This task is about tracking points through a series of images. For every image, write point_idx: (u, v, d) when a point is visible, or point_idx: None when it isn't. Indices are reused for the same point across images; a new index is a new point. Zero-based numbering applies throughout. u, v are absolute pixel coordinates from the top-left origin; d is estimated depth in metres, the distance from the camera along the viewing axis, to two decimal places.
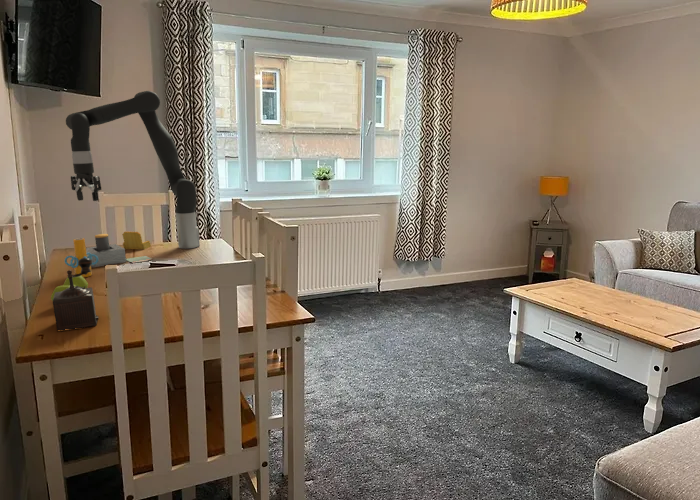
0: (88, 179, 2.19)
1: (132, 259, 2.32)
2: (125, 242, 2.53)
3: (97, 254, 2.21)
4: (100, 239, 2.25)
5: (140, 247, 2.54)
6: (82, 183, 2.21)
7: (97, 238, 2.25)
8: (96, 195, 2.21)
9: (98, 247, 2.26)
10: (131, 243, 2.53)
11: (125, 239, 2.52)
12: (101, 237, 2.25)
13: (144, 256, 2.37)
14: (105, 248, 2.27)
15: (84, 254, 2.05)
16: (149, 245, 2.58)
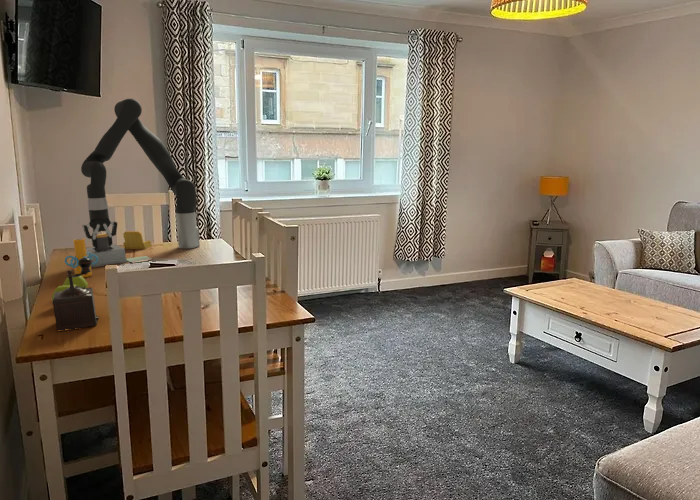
0: (108, 224, 2.27)
1: (132, 259, 2.32)
2: (126, 242, 2.54)
3: (97, 254, 2.21)
4: (100, 239, 2.25)
5: (141, 247, 2.54)
6: (100, 228, 2.25)
7: (97, 238, 2.25)
8: None
9: (98, 247, 2.26)
10: (132, 243, 2.54)
11: (126, 239, 2.53)
12: (101, 237, 2.25)
13: (144, 256, 2.37)
14: (105, 248, 2.27)
15: (84, 254, 2.05)
16: (149, 245, 2.59)
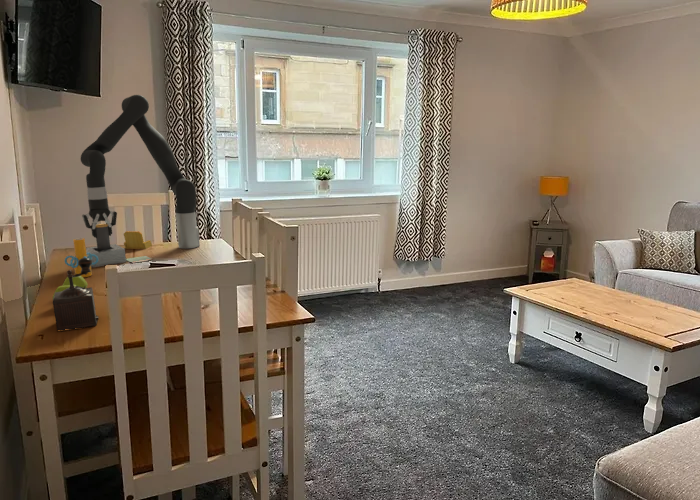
0: (108, 214, 2.26)
1: (132, 259, 2.32)
2: (126, 242, 2.54)
3: (97, 254, 2.21)
4: (100, 229, 2.24)
5: (141, 247, 2.55)
6: (100, 217, 2.25)
7: (97, 228, 2.24)
8: None
9: (98, 237, 2.25)
10: (132, 243, 2.54)
11: (126, 239, 2.53)
12: (101, 227, 2.24)
13: (144, 256, 2.37)
14: (105, 238, 2.26)
15: (84, 254, 2.05)
16: (150, 245, 2.59)
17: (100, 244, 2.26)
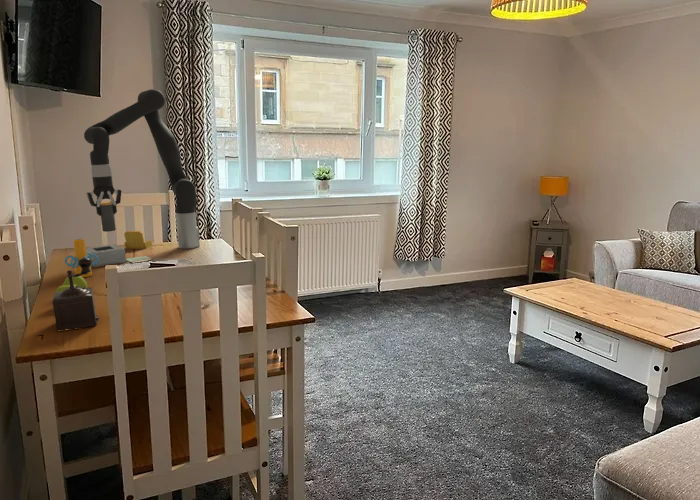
0: (112, 192, 2.25)
1: (132, 259, 2.32)
2: (127, 241, 2.54)
3: (97, 254, 2.21)
4: (104, 207, 2.23)
5: (142, 246, 2.55)
6: (104, 195, 2.23)
7: (101, 206, 2.23)
8: None
9: (102, 215, 2.24)
10: (133, 243, 2.54)
11: (127, 238, 2.54)
12: (105, 205, 2.23)
13: (144, 256, 2.37)
14: (110, 216, 2.24)
15: (84, 254, 2.05)
16: (150, 245, 2.60)
17: (105, 223, 2.24)
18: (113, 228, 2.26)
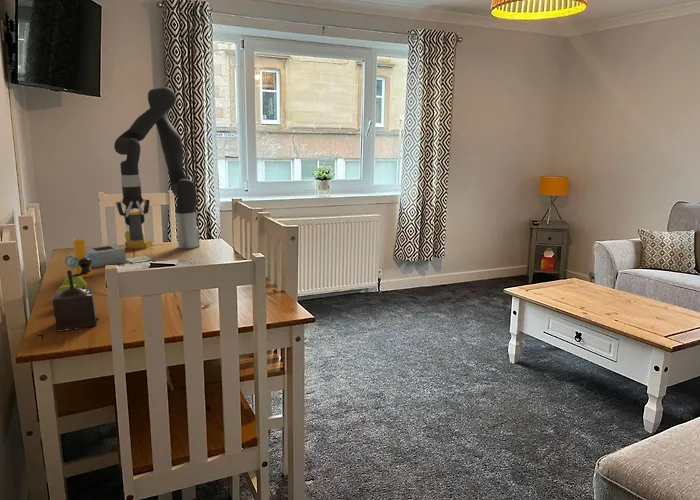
0: (140, 202, 2.28)
1: (132, 259, 2.32)
2: (127, 241, 2.55)
3: (97, 254, 2.21)
4: (133, 216, 2.25)
5: (142, 246, 2.55)
6: (133, 205, 2.26)
7: (130, 215, 2.25)
8: None
9: (131, 224, 2.26)
10: (133, 243, 2.55)
11: (127, 238, 2.54)
12: (134, 214, 2.25)
13: (144, 256, 2.37)
14: (138, 226, 2.27)
15: (84, 254, 2.05)
16: (151, 244, 2.60)
17: (133, 232, 2.27)
18: (141, 237, 2.29)
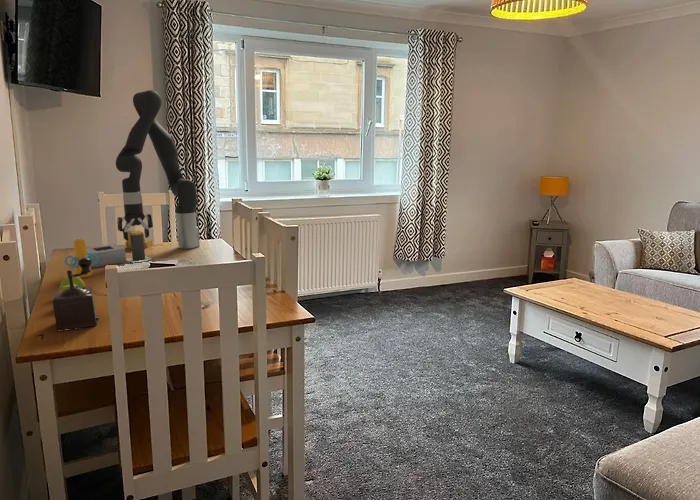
0: (142, 217, 2.29)
1: (132, 259, 2.32)
2: (128, 241, 2.55)
3: (97, 254, 2.21)
4: (135, 236, 2.27)
5: None
6: (134, 222, 2.27)
7: (132, 235, 2.27)
8: None
9: (133, 244, 2.28)
10: None
11: (128, 238, 2.54)
12: (136, 234, 2.27)
13: None
14: (140, 246, 2.29)
15: (84, 254, 2.05)
16: (151, 244, 2.61)
17: (135, 252, 2.29)
18: (143, 257, 2.31)
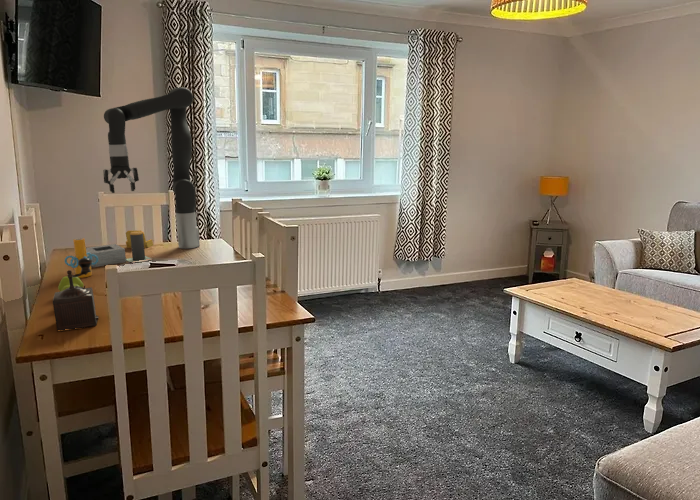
0: (128, 171, 2.33)
1: (132, 259, 2.32)
2: (128, 241, 2.55)
3: (97, 254, 2.21)
4: (135, 236, 2.27)
5: None
6: (120, 175, 2.31)
7: (132, 235, 2.27)
8: None
9: (133, 244, 2.28)
10: None
11: (128, 238, 2.55)
12: (136, 234, 2.27)
13: None
14: (140, 246, 2.29)
15: (84, 254, 2.05)
16: (151, 244, 2.61)
17: (135, 252, 2.29)
18: (143, 257, 2.31)
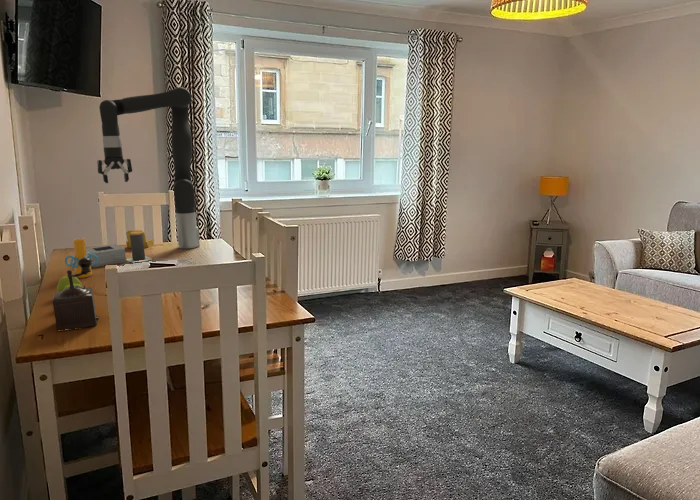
0: (122, 162, 2.38)
1: (132, 259, 2.32)
2: (129, 241, 2.56)
3: (97, 254, 2.21)
4: (135, 236, 2.27)
5: (144, 245, 2.57)
6: (114, 166, 2.36)
7: (132, 235, 2.27)
8: None
9: (133, 244, 2.28)
10: None
11: (129, 238, 2.55)
12: (136, 234, 2.27)
13: None
14: (140, 246, 2.29)
15: (84, 254, 2.05)
16: (152, 244, 2.62)
17: (135, 252, 2.29)
18: (143, 257, 2.31)
